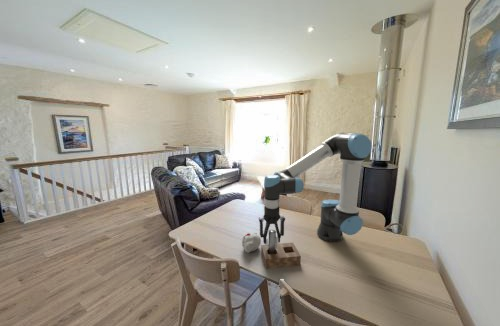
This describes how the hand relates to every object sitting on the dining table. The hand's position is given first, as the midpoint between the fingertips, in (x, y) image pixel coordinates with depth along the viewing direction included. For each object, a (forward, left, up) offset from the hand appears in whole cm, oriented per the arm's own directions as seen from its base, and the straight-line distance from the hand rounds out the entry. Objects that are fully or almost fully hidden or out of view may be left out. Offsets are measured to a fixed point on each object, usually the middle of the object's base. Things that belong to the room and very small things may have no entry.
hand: (271, 248), depth 105 cm
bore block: (-4, 0, -7) cm, 8 cm away
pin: (0, 0, -6) cm, 6 cm away
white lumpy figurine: (+10, -12, -7) cm, 17 cm away
